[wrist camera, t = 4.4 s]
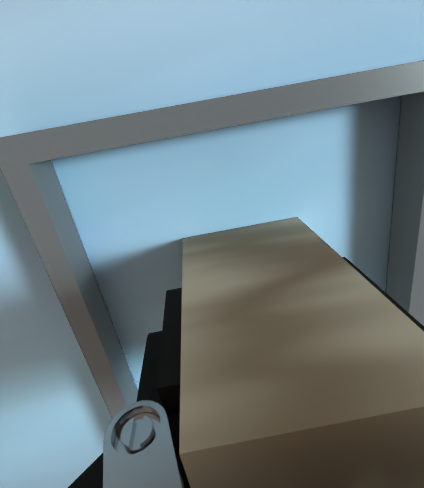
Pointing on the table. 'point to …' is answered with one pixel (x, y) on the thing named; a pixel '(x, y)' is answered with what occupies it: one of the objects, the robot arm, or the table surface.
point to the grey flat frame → (189, 122)
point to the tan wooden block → (294, 367)
